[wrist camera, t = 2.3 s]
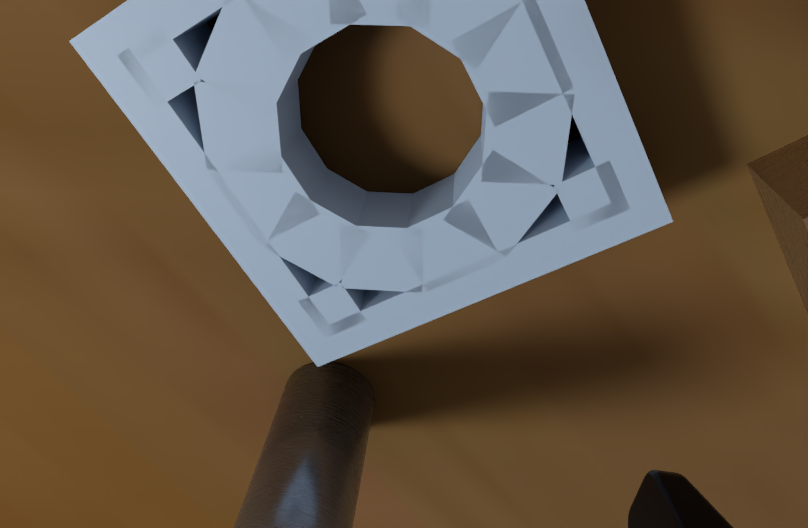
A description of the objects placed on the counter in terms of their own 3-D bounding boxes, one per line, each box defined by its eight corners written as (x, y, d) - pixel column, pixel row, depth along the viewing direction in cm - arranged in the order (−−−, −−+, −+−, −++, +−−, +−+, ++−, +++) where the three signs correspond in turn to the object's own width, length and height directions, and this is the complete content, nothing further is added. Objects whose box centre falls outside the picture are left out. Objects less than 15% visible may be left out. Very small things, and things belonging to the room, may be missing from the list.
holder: (482, -230, 15) (484, -251, 13) (650, 186, 20) (673, 221, 18) (114, 24, 19) (69, 41, 17) (331, 324, 24) (317, 367, 22)
